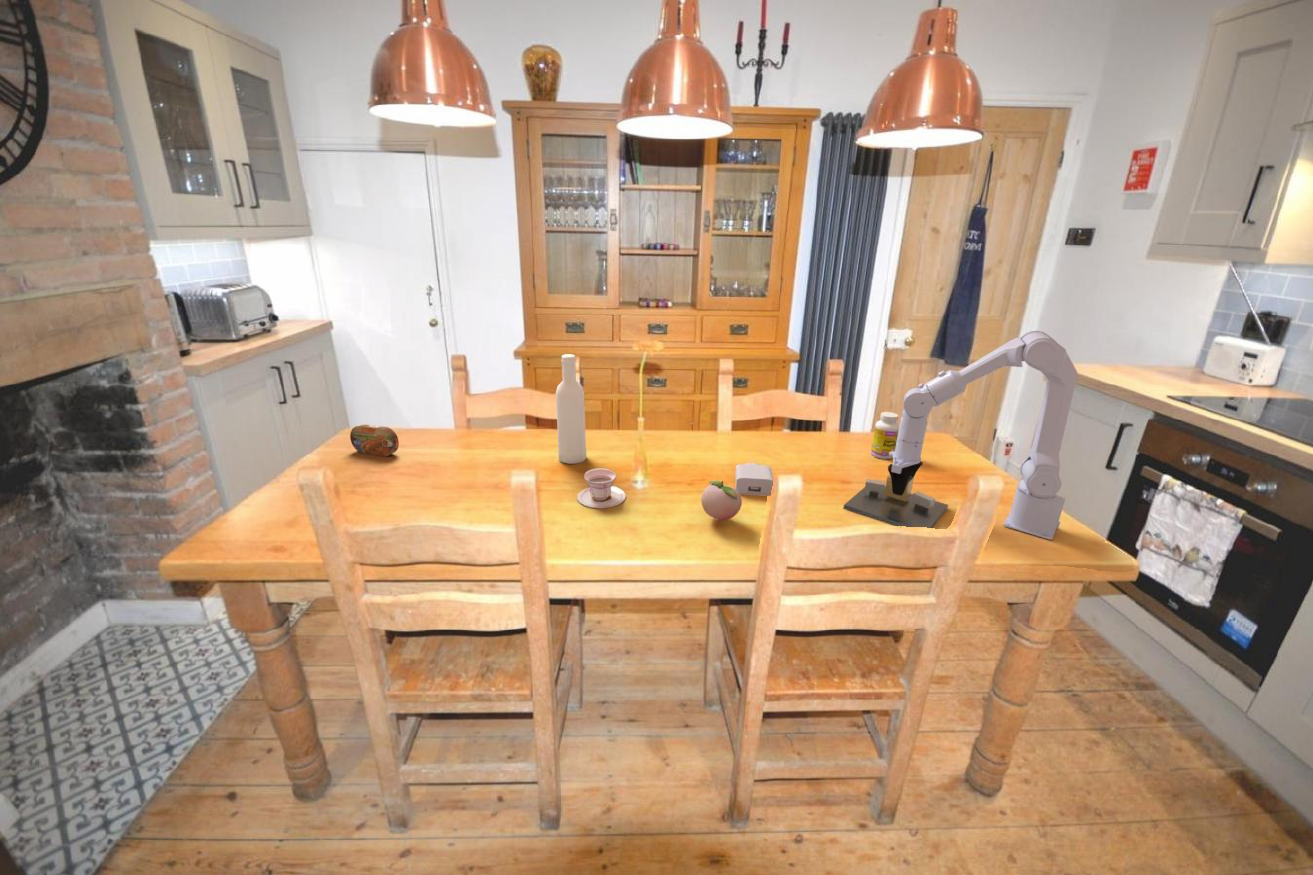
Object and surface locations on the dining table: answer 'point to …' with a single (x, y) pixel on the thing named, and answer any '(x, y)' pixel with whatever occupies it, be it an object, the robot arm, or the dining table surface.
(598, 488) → the teacup
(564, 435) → the bottle
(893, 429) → the supplement bottle
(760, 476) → the charger
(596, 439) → the dining table surface
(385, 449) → the tin
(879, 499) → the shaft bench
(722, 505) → the decorative fruit
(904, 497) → the block
